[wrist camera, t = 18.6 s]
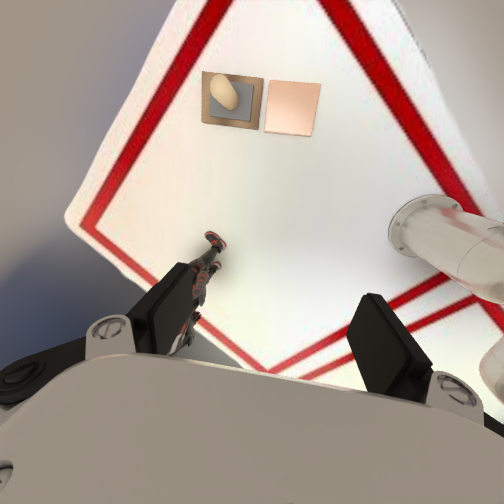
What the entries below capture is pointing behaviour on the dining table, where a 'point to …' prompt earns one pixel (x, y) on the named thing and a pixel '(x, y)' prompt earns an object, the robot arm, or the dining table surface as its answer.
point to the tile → (291, 107)
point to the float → (230, 99)
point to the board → (230, 122)
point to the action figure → (198, 290)
